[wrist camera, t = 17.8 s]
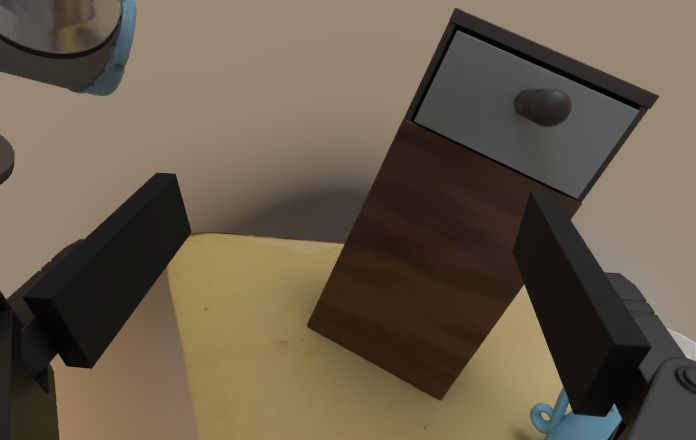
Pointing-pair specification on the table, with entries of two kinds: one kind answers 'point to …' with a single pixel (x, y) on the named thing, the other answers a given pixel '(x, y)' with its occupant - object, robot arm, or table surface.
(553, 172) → the top drawer
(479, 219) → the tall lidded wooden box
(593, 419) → the teapot
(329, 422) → the table surface
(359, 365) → the table surface
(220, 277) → the table surface
